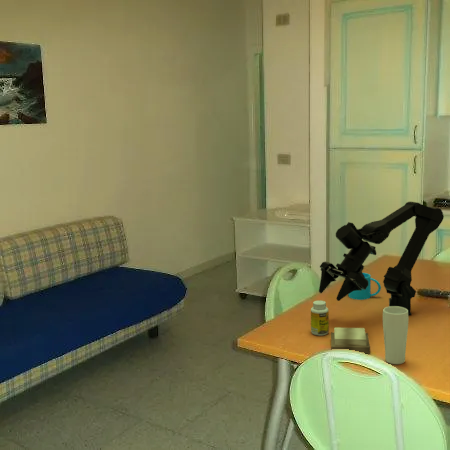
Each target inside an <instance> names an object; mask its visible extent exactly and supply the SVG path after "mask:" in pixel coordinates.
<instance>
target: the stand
mask: <svg viewBox="0 0 450 450" xmlns="http://www.w3.org/2000/svg"><path fill="white" fill-rule="evenodd" d="M330 338H331V339H330V342H331V343H330V348H331V349H349V350H355V351H359V352H364V353H368V354H367V355H371V346H370V345H371V344H370V338H369V333H368V332H366V329H365V328H364V327H334V331H332V332H330Z"/></svg>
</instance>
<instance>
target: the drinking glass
mask: <svg viewBox="0 0 450 450" xmlns="http://www.w3.org/2000/svg"><path fill="white" fill-rule="evenodd" d="M382 329H383V333H382V334H383V341H384V342H383V344H384V356H385V357H384V358H385V361H386V362H387V363H388V364H391V365H401V364H404V363H405V361H406V351H407V350H406V349H407V339H408V330H409V315H408V310H407V309H406V308H403V307H399V306H389V305H388V306H385V307H384V308H383V310H382Z"/></svg>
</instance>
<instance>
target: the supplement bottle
mask: <svg viewBox="0 0 450 450" xmlns="http://www.w3.org/2000/svg"><path fill="white" fill-rule="evenodd" d="M329 313H330V311H329V307H327V303H326V301H325V300H314V301H313V302H312V307H311V308H310V331H311V335H315V336H320V337H321V336H326V335H328V334H329V331H330V329H329Z"/></svg>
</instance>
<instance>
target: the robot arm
mask: <svg viewBox="0 0 450 450" xmlns="http://www.w3.org/2000/svg"><path fill="white" fill-rule="evenodd" d="M414 217H415V218H414ZM412 218H414V224H415V228H414V231H413V232H412V235H411V236H410V238H409V240H408V243H407V245H406V246H405V248H404V250H403V253H402V254H401V257H400V259H399V260H398V262H397V264H396V265H395V266H394V267H392V266H388V268H387V271H386V273H385V274H384V276H383V280H382V283H383V287H384V289H385V292H386V293H387V294H390V297H389V298H388V307H389V306H399V307H403V308H406V309H407V310H408V316H412V311H411V309H412V307H411V306H412V304H411V303H412V301H411V300H412V298H414V297H415V296H416V293H417V291H416V290H415V288H414V287H413V286H412V285H411V283H412V281H413V279H412V278H413V277H412V270H413V268H414V266H415V264H416V262H417V261H418V258H419V255H421V252H422V250H423V248H424V246H425V244H426V242H427V240H428V238H429V236H430V234H432V233H433V232H434V231H436V230H437V229H438V228H439V226H440V225H441V224H442V222H443V220H444V212H443V210H442V209H441V208H439V207H432V206H427V205H424V204H421V202H416V201H407V202H405V204H404V205H403V206H401V207H399V208H397V209H396V210H395V211H393V212H391V213H390V214H389V215H386V216H385V217H384V218H381V219H380V220H373V221H371V222H368V223H365V224H364V225H363V226H361V228H357V227H356V226H355V223H353V222H349V221H348V222H347V223H346V224H344V225H341V226H340V228H338V229H337V230H336V232H335V237H336V239H337V240H338V241H339V242H340V243H341V245H343V246H344V247H345V248H346V249H348V250H349V251H348V253H344V254H343V255H342V256H343V259H342V261H341V263H336V265H334V264H333V263H332V262H328V261H322V262H321V264H320V265H319V268H320V271H321V273H320V283H319V288H318V293H319V294H322V293H324V292H325V290H326V289H327V288H328V286H329V285H330V284H331V283H332V282H336V281H337V280H336V279H338V278H339V277H340V278H344V279H343V282H342V284H341V286H340V288H339V291H338V294H337V296H336V301H338V302H339V301H342V300H343V298H345V297H347V296H348V294H349V293H351V292H352V291H356V290H360V291H361V290H362V289H364V290H365V289H366V288H367V287H368V280H367V279H366V278H365V277H364V275H363V273H364V272H363V270H364V268H365V266H364V263H365V261H366V260H367V259H368V257H369V256H370V255H373V256H376V255H377V250H376V246H373V245H371V244H375V245H380V244H382V243H383V242H384V241H386V240H387V239H388V238H389V237H390V234H391V232H392V231H394V230H395V229H396V228H398V227H400V226H401V225H403V224H404V223H407V221H409V220H410V219H412ZM370 243H371V244H370Z"/></svg>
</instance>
